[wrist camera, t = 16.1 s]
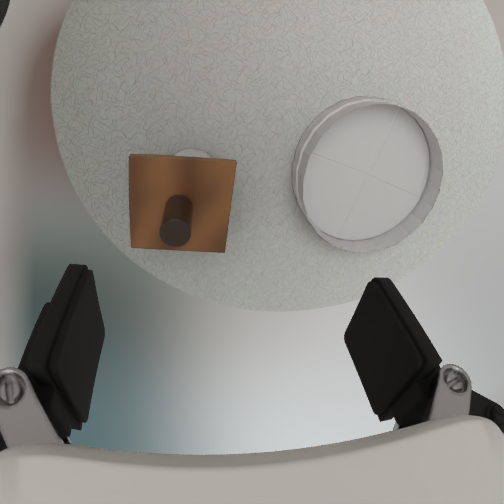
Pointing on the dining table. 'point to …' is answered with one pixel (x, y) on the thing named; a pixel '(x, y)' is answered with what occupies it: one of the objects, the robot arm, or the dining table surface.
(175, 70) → the dining table surface
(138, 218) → the square peg stand
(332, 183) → the dish
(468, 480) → the robot arm
